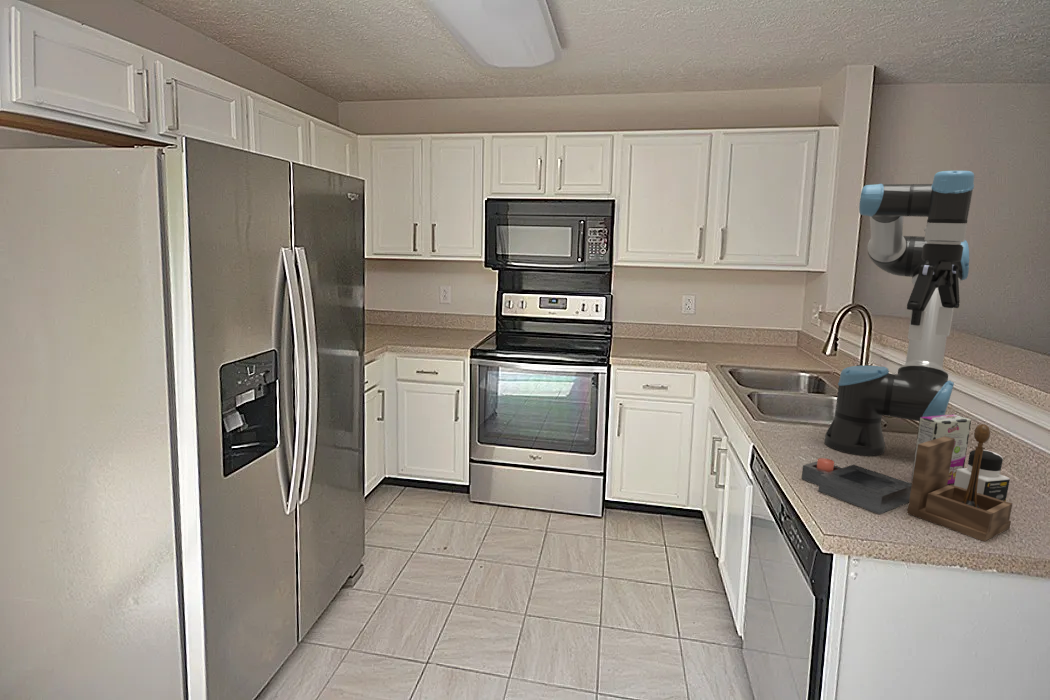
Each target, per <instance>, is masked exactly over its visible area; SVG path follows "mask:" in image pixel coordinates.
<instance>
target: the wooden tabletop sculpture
mask: <svg viewBox="0 0 1050 700" xmlns="http://www.w3.org/2000/svg"><path fill="white" fill-rule="evenodd" d="M973 435H974V436H973V438H974V439H975V441H976V443H977V445H976V446H974V447H975V449H974V450H975V455H974V461H973V466H972V472H971V476H970V481H969V485H968V488H967V491H966V494H965V497H964V500H963V502H961V503H964V504H967V505H970V506H973V507H976V508H980V507H979V506H978V505H977V485H978V477H979V471H980V464H981V459H982V453H983V450H986V449H985V447H984V444H985V443H987V442H989V440H990V438H991V429H990V427H989V426H988V425H987V424H984V423H980V424H978V425H977V426H976V427H975V429H974V433H973ZM969 491H970V493H969ZM968 495H969V499H968V500H967V498H968ZM973 498H974V501H973Z"/></svg>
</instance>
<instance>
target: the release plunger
mask: <svg viewBox="0 0 1050 700" xmlns="http://www.w3.org/2000/svg"><path fill="white" fill-rule="evenodd" d="M834 465H835V461H834V460H833V459H830V458H826V457H821V458H820V457H819V458H817V468H818V469H821V470H824V471H827V472H830V471H833V468H834Z"/></svg>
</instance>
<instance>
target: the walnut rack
mask: <svg viewBox="0 0 1050 700" xmlns="http://www.w3.org/2000/svg"><path fill="white" fill-rule="evenodd" d="M954 441H955V439H954V438H950V437H946V436H944V437H941V438H937V439H934V440H931V441H927V442H924V443H921V444H918V448H917V455H916V461H915V467H914V474H913V480H912V479H911V483H912V486H911V493H910V499H909V503H908V507H907V511H906V514H907V513H908V515H910V516H913V517H916V518H918V517H919V519H922V520H924V521H927V522H929V521H930V523H933V524H934V525H935V524H936V525H938V526H940V525H941V526H940V527H943V528H947V529H948V528H949V530H951V531H954V532H957V533H959V532H960V533H959V534H963V535H965V536H969V537H971V538H973V539H976V540H979V541H981V542H986V541H988V540H990V539H992V538H995V537H996V536H998V535H1000V534H1001V533H1003V532H1005V531H1007V530H1009V529H1010V528H1011V524H1012V523H1011V522H1012V521H1011V520H1010V519H1011V514H1012V508H1013V503H1011V502H1009V501H1007V500H1006V501H1002V500H999V499H996V498H993V497H990V496H986V495H983V494H980V493H977V505H978V506H979V507H980V508H976V507H973V506H970V505H967V504H964V503H961V502H963V500H964V497H965V494H966V491H967V489H964V488H961V487H958V486H954V485H947V483H948V477H949V471H950V465H951V459H952V453H953V447H954ZM969 493H970V491H969ZM968 499H969V495H968V498H967V500H968ZM973 501H974V498H973Z"/></svg>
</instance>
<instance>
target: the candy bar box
mask: <svg viewBox="0 0 1050 700" xmlns="http://www.w3.org/2000/svg"><path fill="white" fill-rule="evenodd" d="M918 422H919V423H918V429H917V438H916V446H915V451H914V452H915V453H914V459H913V467H912V472H911V473H912V474H911V481H912V480H913V474H914V467H915V461H916V455H917V448H918V444H921V443H924V442H927V441H931V440H934V439H937V438H941V437H944V436H946V437H950V438H954V439H955V441H954V447H953V453H952V459H951V465H950V471H949V477H948V483H947V486H948V485H954V483H955V477H956V471H957V469H961V468H965V463H966V458H967V450H968V446H969V445H968V444H969V437H970V431H971V424H972V419H971V418H969V417H964V416H961V415H959V414H945V415H941V416H928V417H920V421H918Z"/></svg>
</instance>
